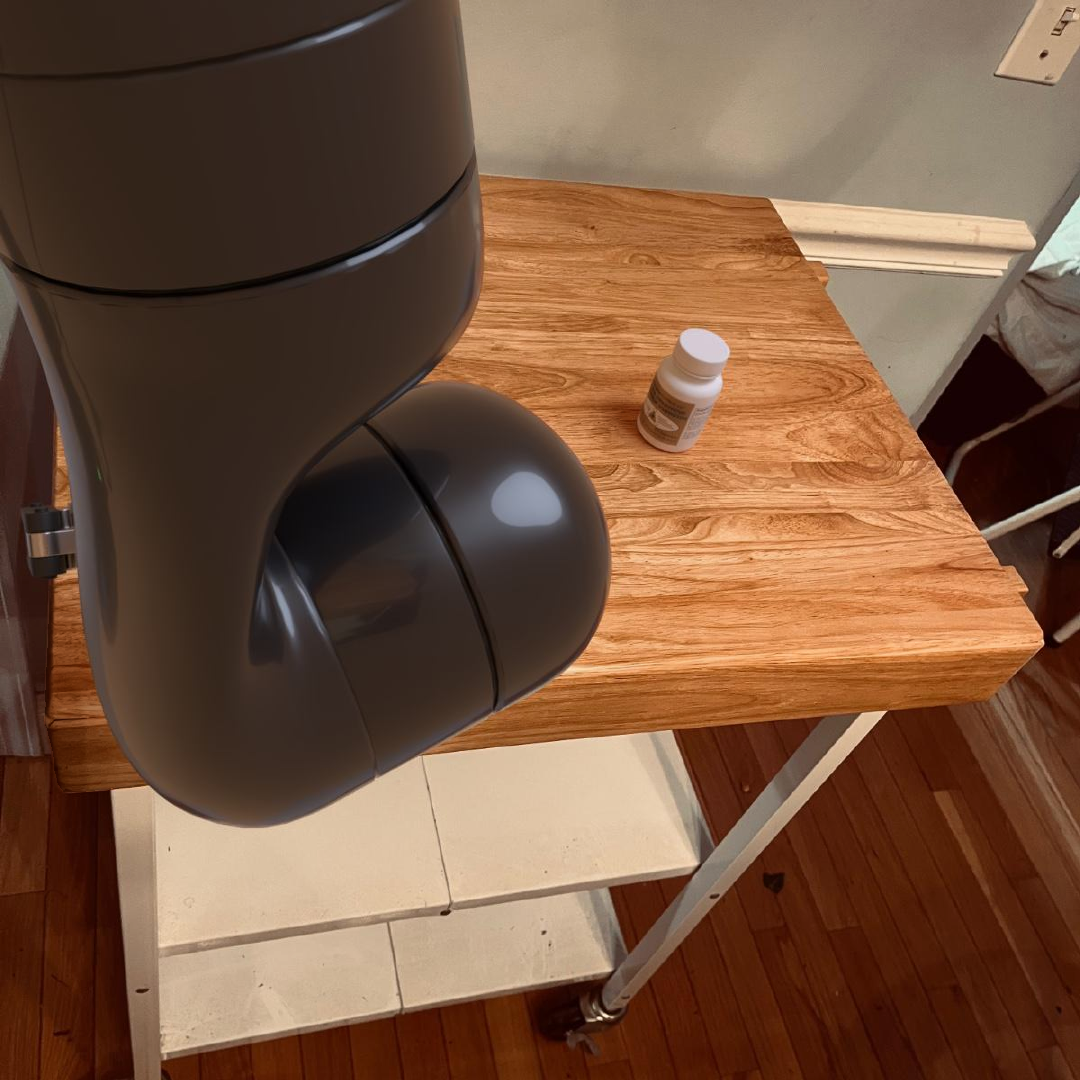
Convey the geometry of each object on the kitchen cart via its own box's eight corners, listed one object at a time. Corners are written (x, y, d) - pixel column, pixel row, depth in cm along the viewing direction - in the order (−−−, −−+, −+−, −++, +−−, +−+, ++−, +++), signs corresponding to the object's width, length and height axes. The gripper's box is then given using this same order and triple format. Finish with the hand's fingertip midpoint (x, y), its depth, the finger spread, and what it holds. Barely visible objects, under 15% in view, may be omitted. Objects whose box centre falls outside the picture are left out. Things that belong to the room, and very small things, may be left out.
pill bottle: (622, 421, 73) (658, 332, 68) (666, 403, 76) (704, 316, 70) (665, 462, 72) (705, 375, 66) (708, 442, 74) (751, 356, 69)
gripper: (425, 414, 39) (326, 424, 54) (-4, 445, 34) (16, 446, 49) (442, 613, 40) (341, 570, 55) (27, 676, 35) (38, 609, 49)
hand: (189, 512), depth 52 cm, fingers open, 8 cm apart
